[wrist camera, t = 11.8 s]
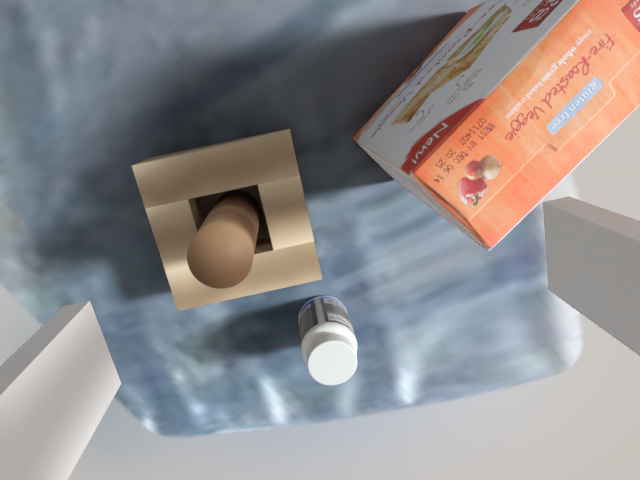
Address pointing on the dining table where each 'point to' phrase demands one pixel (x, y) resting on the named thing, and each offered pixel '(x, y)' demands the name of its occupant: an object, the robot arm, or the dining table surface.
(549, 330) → the dining table surface
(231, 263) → the pin
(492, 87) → the cracker box
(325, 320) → the pill bottle
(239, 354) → the dining table surface
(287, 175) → the bore block
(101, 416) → the robot arm
